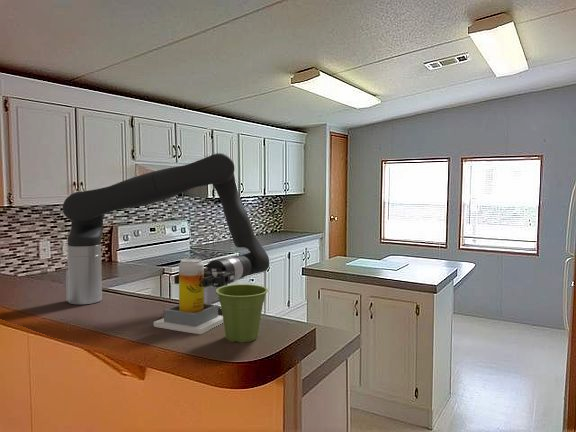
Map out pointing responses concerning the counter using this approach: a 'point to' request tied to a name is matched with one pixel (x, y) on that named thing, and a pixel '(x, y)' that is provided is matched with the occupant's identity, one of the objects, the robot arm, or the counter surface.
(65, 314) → the counter surface
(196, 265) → the beer can
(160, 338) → the counter surface
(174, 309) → the dock
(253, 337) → the plant pot
